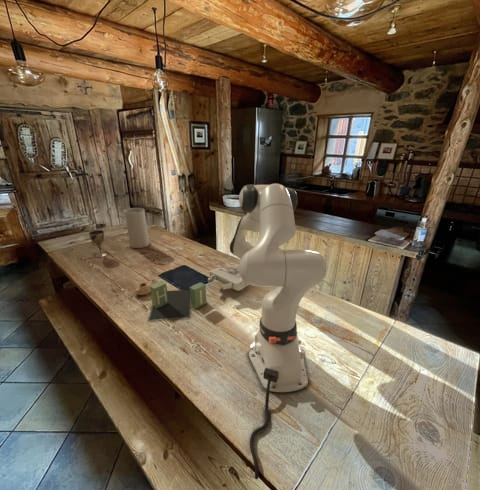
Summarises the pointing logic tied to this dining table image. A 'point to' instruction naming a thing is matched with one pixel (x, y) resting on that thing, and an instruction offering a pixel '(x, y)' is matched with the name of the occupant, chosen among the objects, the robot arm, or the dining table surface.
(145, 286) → the pottery oil lamp
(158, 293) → the letter H
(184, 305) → the word mat
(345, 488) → the dining table surface
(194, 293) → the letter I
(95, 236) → the wine glass
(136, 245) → the cylinder vase
